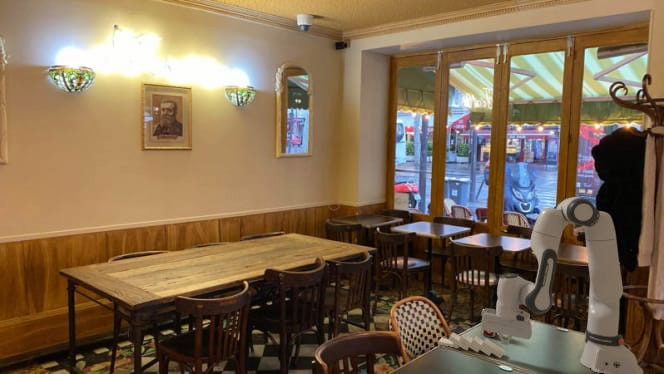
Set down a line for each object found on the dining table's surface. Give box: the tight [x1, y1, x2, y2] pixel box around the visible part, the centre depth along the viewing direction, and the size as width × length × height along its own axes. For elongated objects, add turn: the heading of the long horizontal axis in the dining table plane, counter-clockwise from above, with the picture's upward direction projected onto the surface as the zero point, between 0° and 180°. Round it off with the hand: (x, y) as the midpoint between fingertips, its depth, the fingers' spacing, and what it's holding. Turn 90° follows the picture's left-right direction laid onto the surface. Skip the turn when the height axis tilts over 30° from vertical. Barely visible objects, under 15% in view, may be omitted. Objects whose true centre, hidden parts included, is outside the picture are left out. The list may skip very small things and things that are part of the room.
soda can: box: [481, 308, 498, 338], centre depth 234 cm, size 7×7×12 cm
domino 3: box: [460, 332, 481, 354], centre depth 218 cm, size 2×5×9 cm
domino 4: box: [471, 335, 493, 357], centre depth 215 cm, size 2×5×9 cm
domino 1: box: [437, 337, 461, 349], centre depth 222 cm, size 2×5×9 cm
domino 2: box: [447, 332, 470, 351], centre depth 220 cm, size 2×5×9 cm
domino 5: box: [482, 337, 506, 359], centre depth 212 cm, size 2×5×9 cm
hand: (504, 344), depth 210 cm, fingers closed
